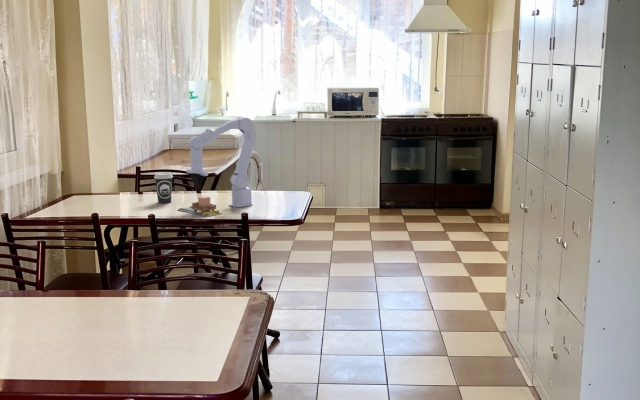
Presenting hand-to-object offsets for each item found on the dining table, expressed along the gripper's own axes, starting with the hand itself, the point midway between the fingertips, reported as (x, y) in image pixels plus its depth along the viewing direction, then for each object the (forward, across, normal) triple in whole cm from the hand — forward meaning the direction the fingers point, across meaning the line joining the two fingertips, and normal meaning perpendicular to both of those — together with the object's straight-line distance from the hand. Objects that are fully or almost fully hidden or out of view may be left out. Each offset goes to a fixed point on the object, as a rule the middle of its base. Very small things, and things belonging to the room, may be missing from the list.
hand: (197, 189), depth 330 cm
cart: (+10, +10, -4) cm, 15 cm away
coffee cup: (+10, -28, -1) cm, 30 cm away
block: (+7, +10, -4) cm, 13 cm away
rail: (+10, +6, -4) cm, 12 cm away
